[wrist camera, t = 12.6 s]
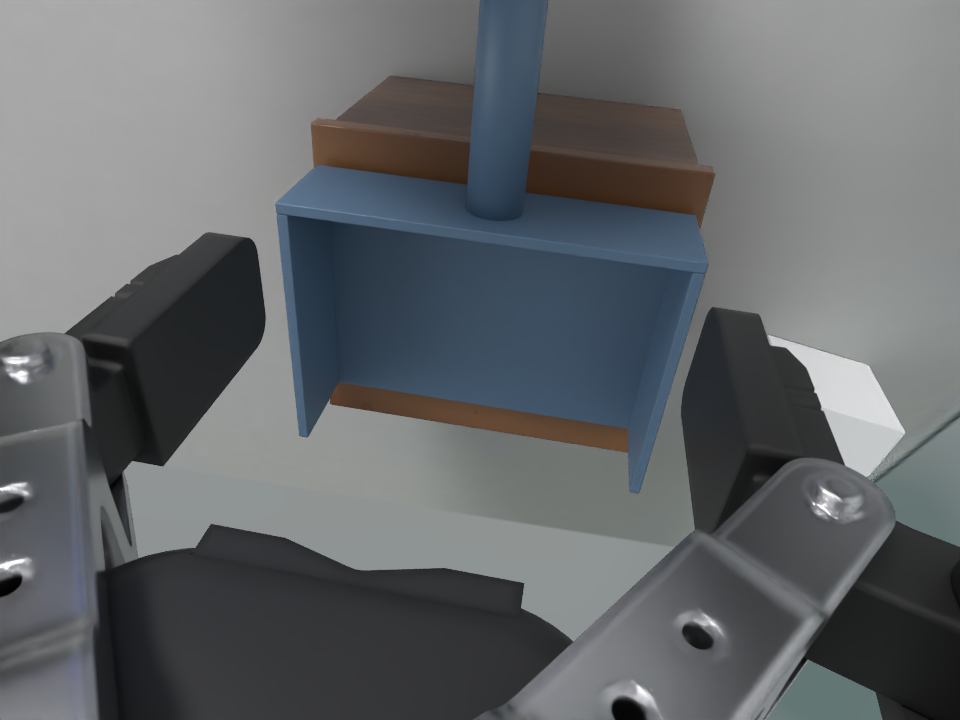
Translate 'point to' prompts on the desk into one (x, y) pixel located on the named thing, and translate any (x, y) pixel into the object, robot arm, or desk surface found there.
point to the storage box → (552, 171)
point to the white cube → (850, 406)
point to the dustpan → (489, 274)
